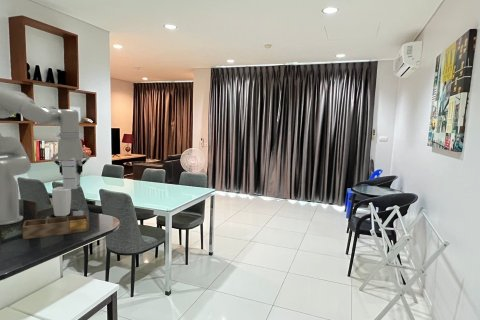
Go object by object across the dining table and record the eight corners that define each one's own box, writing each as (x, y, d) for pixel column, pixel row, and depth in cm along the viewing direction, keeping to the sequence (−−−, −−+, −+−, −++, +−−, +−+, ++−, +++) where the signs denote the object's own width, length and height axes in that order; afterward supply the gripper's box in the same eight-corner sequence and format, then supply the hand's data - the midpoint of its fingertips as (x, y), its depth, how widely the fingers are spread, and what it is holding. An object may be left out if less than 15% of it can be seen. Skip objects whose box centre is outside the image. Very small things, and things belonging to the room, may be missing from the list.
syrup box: (76, 189, 139) (75, 158, 137) (62, 189, 138) (61, 158, 136) (80, 186, 144) (79, 156, 143) (67, 186, 143) (66, 156, 141)
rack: (22, 239, 127) (22, 226, 126) (24, 232, 134) (24, 220, 134) (88, 231, 140) (88, 219, 139) (87, 225, 147) (87, 214, 147)
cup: (72, 213, 163) (72, 187, 162) (65, 217, 156) (64, 190, 154) (59, 213, 163) (58, 186, 161) (51, 217, 156) (50, 189, 154)
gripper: (46, 136, 131) (48, 176, 133) (90, 136, 138) (91, 174, 140) (49, 135, 138) (51, 173, 140) (91, 136, 145) (92, 172, 147)
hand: (71, 173), depth 140 cm, fingers closed on syrup box, 6 cm apart
